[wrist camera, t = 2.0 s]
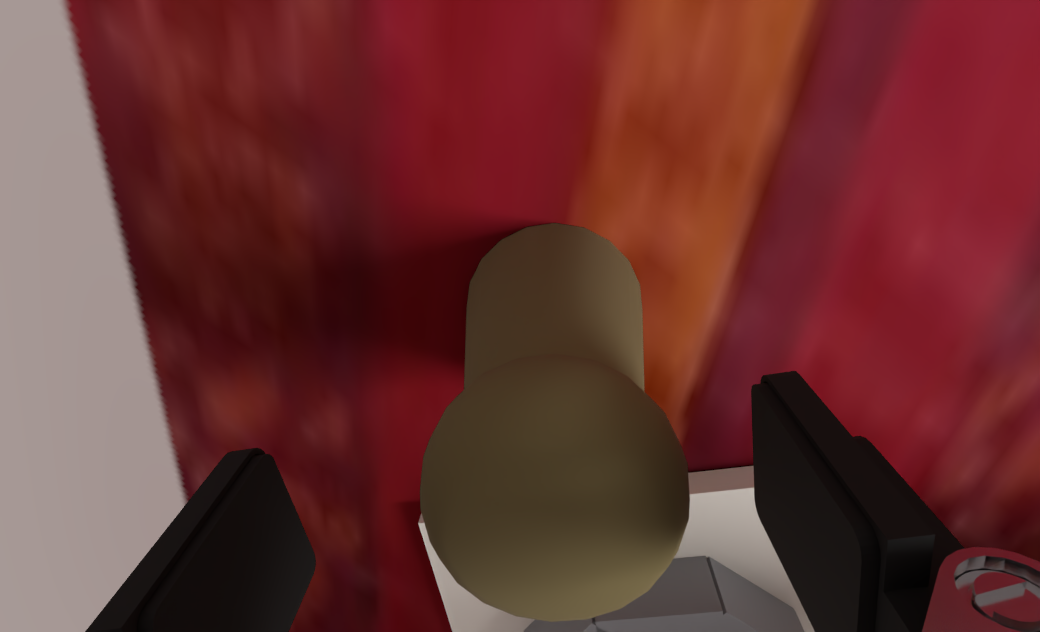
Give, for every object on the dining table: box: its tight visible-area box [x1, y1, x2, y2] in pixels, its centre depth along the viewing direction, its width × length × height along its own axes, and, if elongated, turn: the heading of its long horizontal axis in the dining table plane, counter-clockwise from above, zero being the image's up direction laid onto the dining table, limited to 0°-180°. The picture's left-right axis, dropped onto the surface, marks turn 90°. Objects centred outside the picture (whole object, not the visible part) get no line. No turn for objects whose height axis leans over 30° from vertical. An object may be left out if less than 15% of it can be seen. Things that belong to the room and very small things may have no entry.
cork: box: [420, 223, 690, 622], centre depth 15 cm, size 6×6×11 cm
